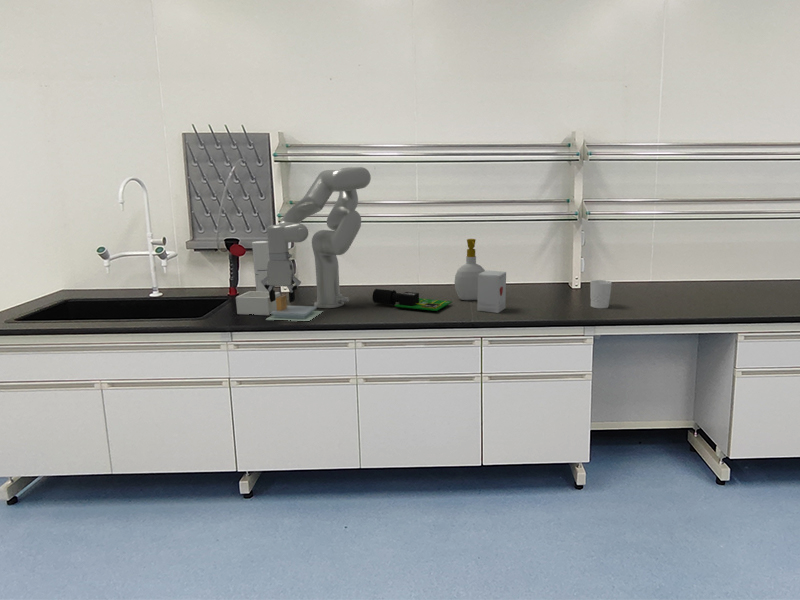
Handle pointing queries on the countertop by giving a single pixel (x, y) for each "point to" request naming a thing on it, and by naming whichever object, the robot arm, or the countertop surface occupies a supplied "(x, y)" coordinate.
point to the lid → (291, 309)
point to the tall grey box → (260, 263)
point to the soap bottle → (468, 275)
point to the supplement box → (491, 291)
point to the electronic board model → (407, 300)
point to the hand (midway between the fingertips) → (282, 301)
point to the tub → (256, 303)
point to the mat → (308, 318)
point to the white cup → (600, 293)
